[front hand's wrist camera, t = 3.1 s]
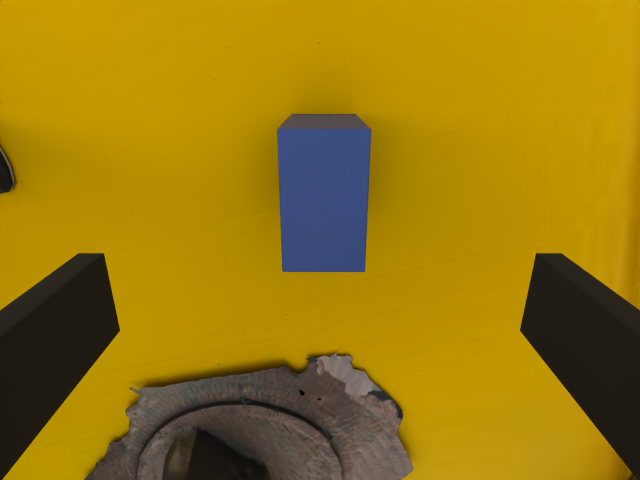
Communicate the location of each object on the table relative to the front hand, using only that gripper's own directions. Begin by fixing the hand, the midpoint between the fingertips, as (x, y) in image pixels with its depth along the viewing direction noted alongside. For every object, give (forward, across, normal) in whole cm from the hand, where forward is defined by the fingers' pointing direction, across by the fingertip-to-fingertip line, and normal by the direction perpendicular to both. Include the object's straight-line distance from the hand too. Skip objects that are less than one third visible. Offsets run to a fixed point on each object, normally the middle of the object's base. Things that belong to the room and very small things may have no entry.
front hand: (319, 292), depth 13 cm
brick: (+21, 0, 0) cm, 21 cm away
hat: (+20, +7, +33) cm, 40 cm away
